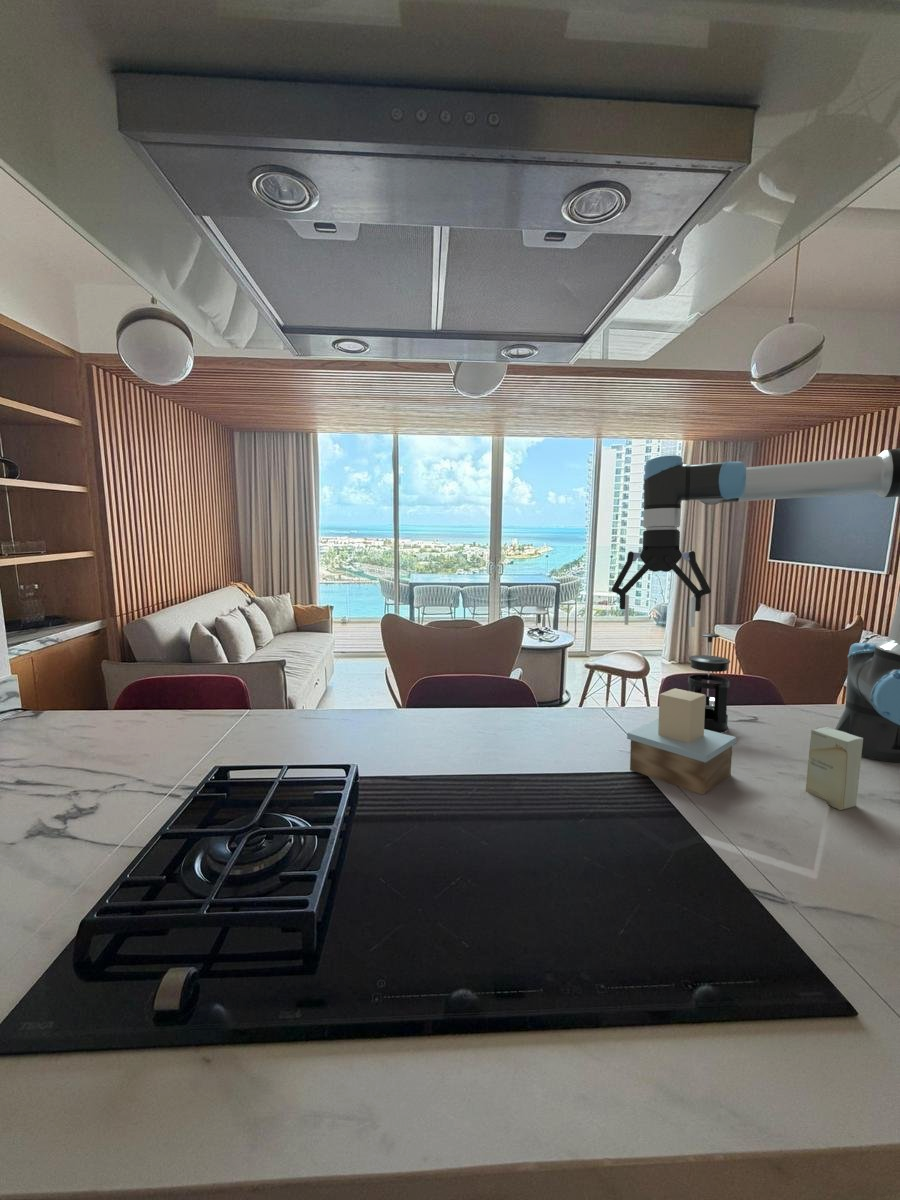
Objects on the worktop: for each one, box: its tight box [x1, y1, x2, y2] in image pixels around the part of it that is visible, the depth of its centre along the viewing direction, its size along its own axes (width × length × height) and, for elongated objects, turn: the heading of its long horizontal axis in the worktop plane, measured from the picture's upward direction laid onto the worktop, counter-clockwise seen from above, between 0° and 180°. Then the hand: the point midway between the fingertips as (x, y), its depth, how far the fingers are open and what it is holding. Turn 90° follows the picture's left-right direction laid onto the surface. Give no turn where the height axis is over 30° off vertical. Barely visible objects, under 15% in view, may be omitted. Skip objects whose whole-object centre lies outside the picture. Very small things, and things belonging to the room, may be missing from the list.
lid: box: [626, 687, 737, 763], centre depth 99 cm, size 15×13×9 cm
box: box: [629, 740, 733, 796], centre depth 100 cm, size 14×12×7 cm
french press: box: [687, 632, 731, 733], centre depth 125 cm, size 12×9×23 cm
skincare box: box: [805, 725, 863, 811], centre depth 90 cm, size 6×4×12 cm
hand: (658, 625), depth 116 cm, fingers open, 13 cm apart
